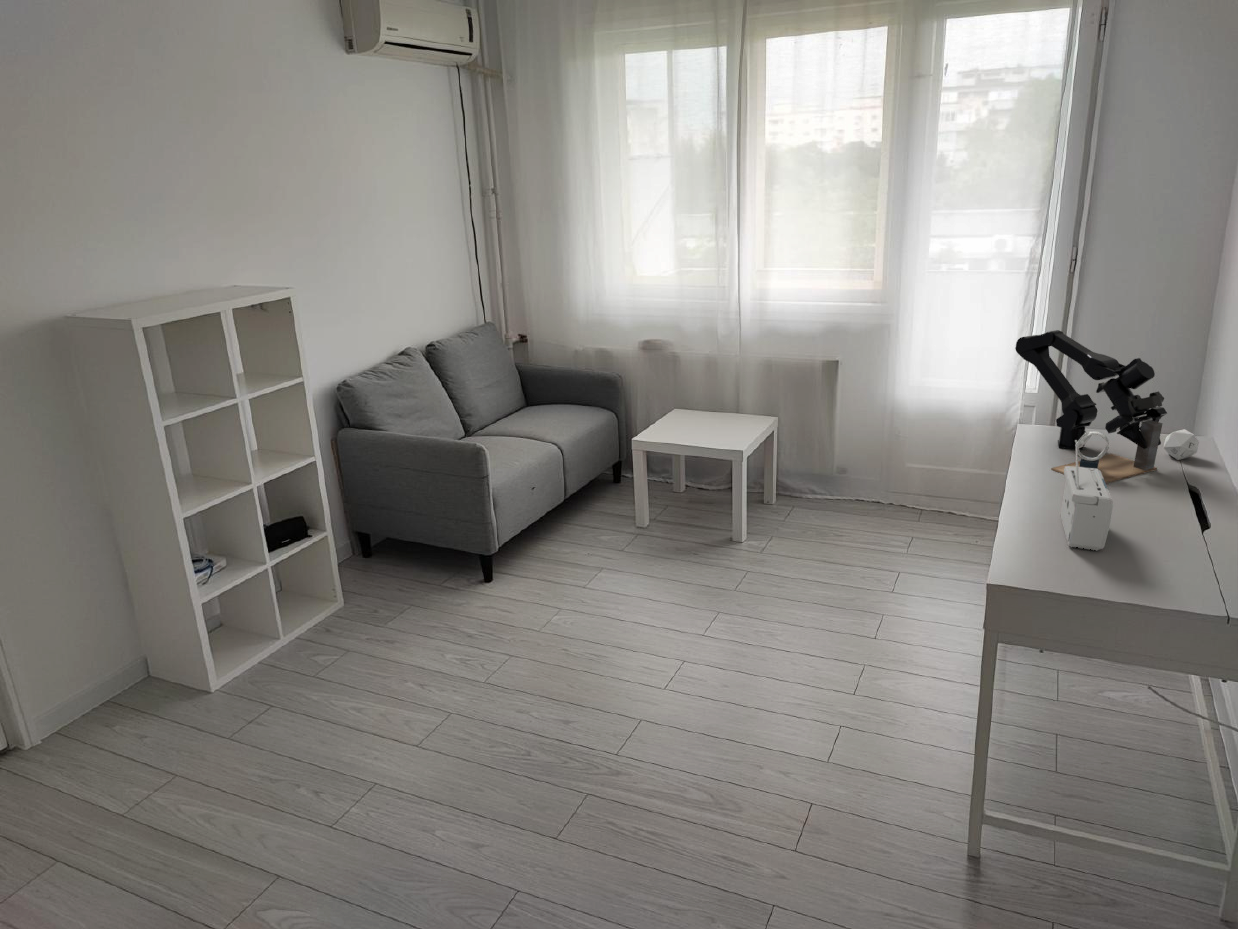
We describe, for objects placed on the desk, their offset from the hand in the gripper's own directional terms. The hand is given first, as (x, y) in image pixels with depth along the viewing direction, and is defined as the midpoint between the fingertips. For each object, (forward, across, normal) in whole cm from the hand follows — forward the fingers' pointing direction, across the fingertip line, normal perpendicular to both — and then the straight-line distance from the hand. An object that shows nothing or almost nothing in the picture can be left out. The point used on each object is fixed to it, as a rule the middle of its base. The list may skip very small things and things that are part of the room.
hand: (1152, 446), depth 243 cm
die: (+3, +18, +7) cm, 20 cm away
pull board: (0, -10, +10) cm, 13 cm away
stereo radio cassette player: (+18, -53, -8) cm, 56 cm away
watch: (0, -15, +10) cm, 18 cm away
